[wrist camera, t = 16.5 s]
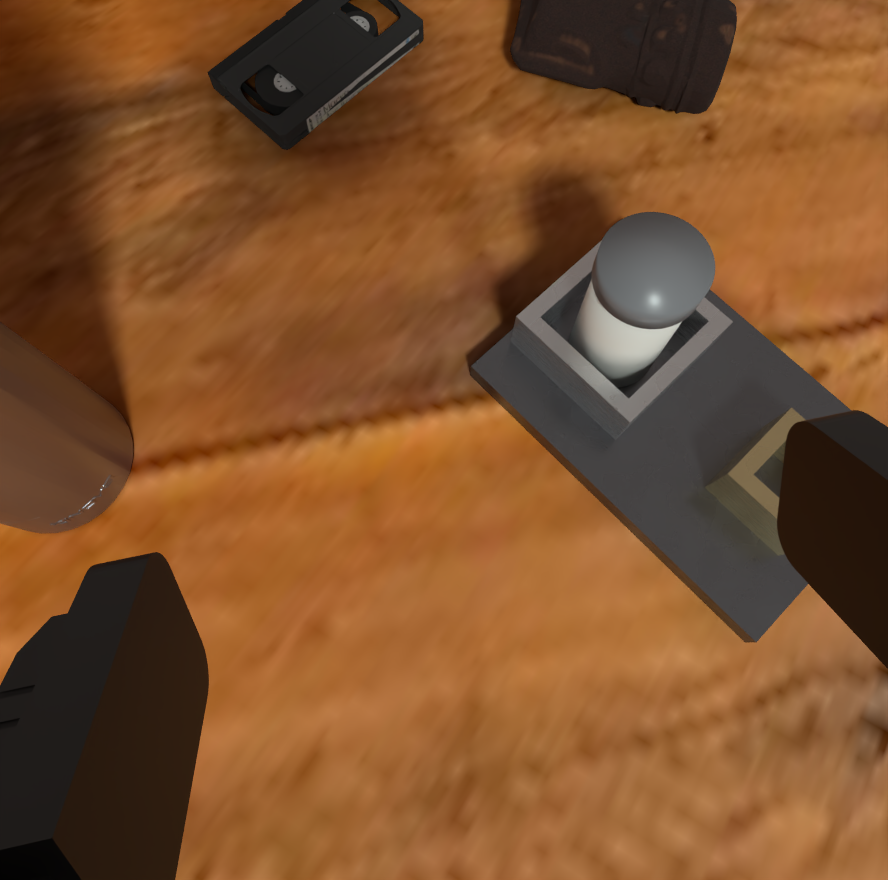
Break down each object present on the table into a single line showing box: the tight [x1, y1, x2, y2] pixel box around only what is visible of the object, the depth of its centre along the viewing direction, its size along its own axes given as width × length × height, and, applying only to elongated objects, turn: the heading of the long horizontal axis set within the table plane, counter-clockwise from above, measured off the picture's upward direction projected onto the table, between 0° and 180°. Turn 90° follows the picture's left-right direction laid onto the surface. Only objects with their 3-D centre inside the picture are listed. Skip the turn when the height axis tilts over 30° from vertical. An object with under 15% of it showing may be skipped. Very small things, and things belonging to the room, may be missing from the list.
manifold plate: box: [470, 240, 851, 642], centre depth 42 cm, size 23×15×5 cm, turn 44°
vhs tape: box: [208, 0, 423, 150], centre depth 52 cm, size 14×8×2 cm, turn 136°
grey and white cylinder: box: [569, 212, 715, 388], centre depth 40 cm, size 6×6×10 cm
